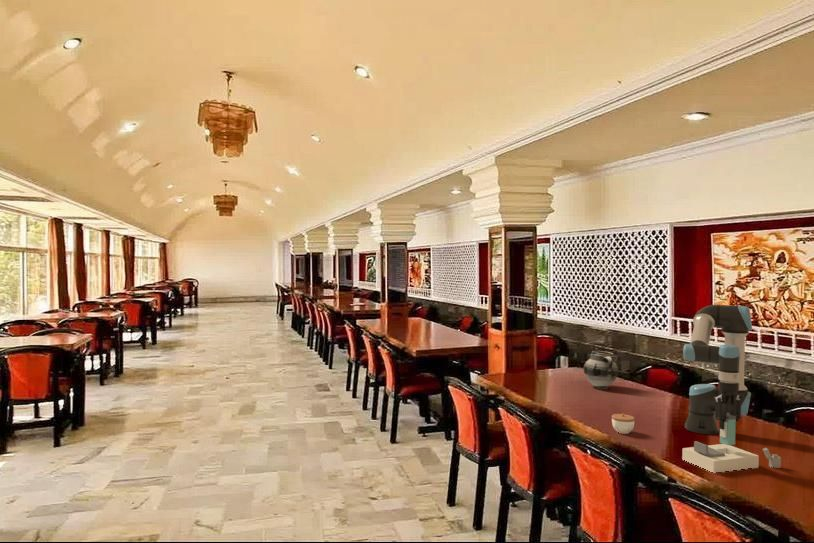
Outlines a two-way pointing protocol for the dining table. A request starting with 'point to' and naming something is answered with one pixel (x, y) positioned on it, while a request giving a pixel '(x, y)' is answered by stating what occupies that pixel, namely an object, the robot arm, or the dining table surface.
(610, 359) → the ceramic pot
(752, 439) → the dining table surface
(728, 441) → the plug
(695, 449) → the shutter
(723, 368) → the robot arm
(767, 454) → the lighter
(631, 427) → the lidded jar
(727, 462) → the socket
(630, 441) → the dining table surface
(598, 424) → the dining table surface
